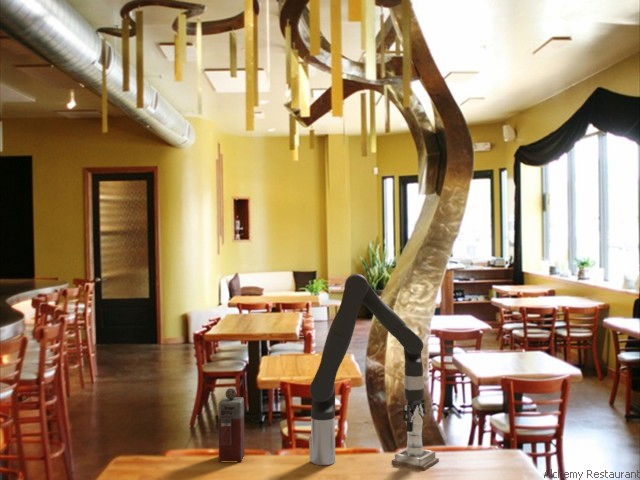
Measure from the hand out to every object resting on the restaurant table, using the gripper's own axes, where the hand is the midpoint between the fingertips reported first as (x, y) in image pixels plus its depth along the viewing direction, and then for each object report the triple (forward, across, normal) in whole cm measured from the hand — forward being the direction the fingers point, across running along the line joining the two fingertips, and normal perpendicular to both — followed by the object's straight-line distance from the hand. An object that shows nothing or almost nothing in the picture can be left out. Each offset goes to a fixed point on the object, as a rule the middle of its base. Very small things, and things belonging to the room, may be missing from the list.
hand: (414, 428), depth 244 cm
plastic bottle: (+12, 0, 0) cm, 12 cm away
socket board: (+13, 0, 0) cm, 13 cm away
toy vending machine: (+13, +37, -62) cm, 73 cm away
